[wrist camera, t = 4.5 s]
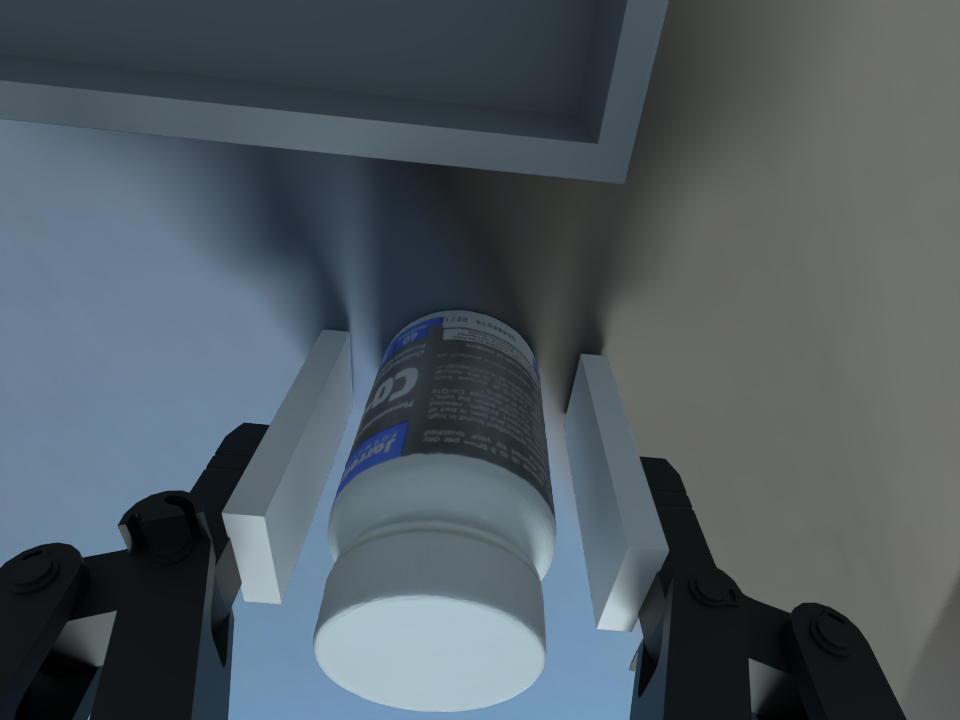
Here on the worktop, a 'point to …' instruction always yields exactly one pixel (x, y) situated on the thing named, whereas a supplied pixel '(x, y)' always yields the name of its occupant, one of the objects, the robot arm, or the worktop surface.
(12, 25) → the grey tray
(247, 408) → the worktop surface
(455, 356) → the pill bottle
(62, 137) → the worktop surface
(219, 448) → the robot arm
